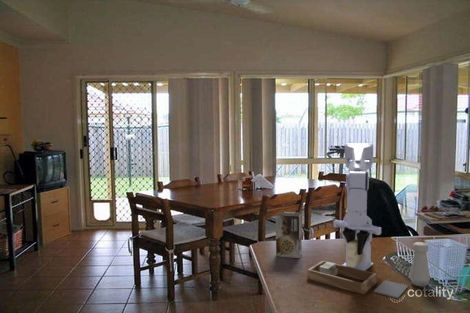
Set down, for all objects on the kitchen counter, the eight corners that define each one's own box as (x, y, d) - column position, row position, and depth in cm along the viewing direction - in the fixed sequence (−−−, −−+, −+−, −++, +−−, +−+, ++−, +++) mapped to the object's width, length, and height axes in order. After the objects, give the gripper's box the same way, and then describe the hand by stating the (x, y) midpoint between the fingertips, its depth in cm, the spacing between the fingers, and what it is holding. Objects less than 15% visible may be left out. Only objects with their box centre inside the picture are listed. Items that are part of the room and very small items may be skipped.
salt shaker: (420, 289, 118) (421, 247, 117) (404, 282, 123) (406, 242, 122) (433, 285, 121) (435, 244, 119) (418, 278, 126) (419, 239, 124)
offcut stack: (328, 272, 133) (328, 260, 132) (338, 274, 130) (338, 263, 130) (318, 278, 127) (318, 266, 127) (328, 281, 125) (328, 269, 125)
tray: (322, 268, 135) (322, 260, 135) (376, 282, 123) (376, 273, 123) (307, 278, 127) (307, 269, 126) (363, 294, 115) (363, 284, 115)
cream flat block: (357, 258, 125) (358, 237, 125) (363, 259, 124) (364, 238, 123) (347, 265, 119) (347, 243, 119) (353, 267, 118) (353, 244, 117)
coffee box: (302, 253, 151) (302, 212, 150) (299, 258, 145) (299, 216, 144) (278, 250, 154) (278, 210, 152) (275, 256, 148) (275, 214, 146)
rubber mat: (384, 281, 124) (385, 280, 124) (408, 287, 120) (408, 285, 120) (373, 292, 116) (373, 290, 116) (397, 298, 112) (397, 297, 112)
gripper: (329, 209, 122) (328, 251, 123) (375, 216, 112) (374, 262, 114) (339, 205, 127) (338, 246, 128) (384, 211, 118) (383, 255, 119)
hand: (356, 253), depth 121 cm, fingers closed on cream flat block, 2 cm apart
